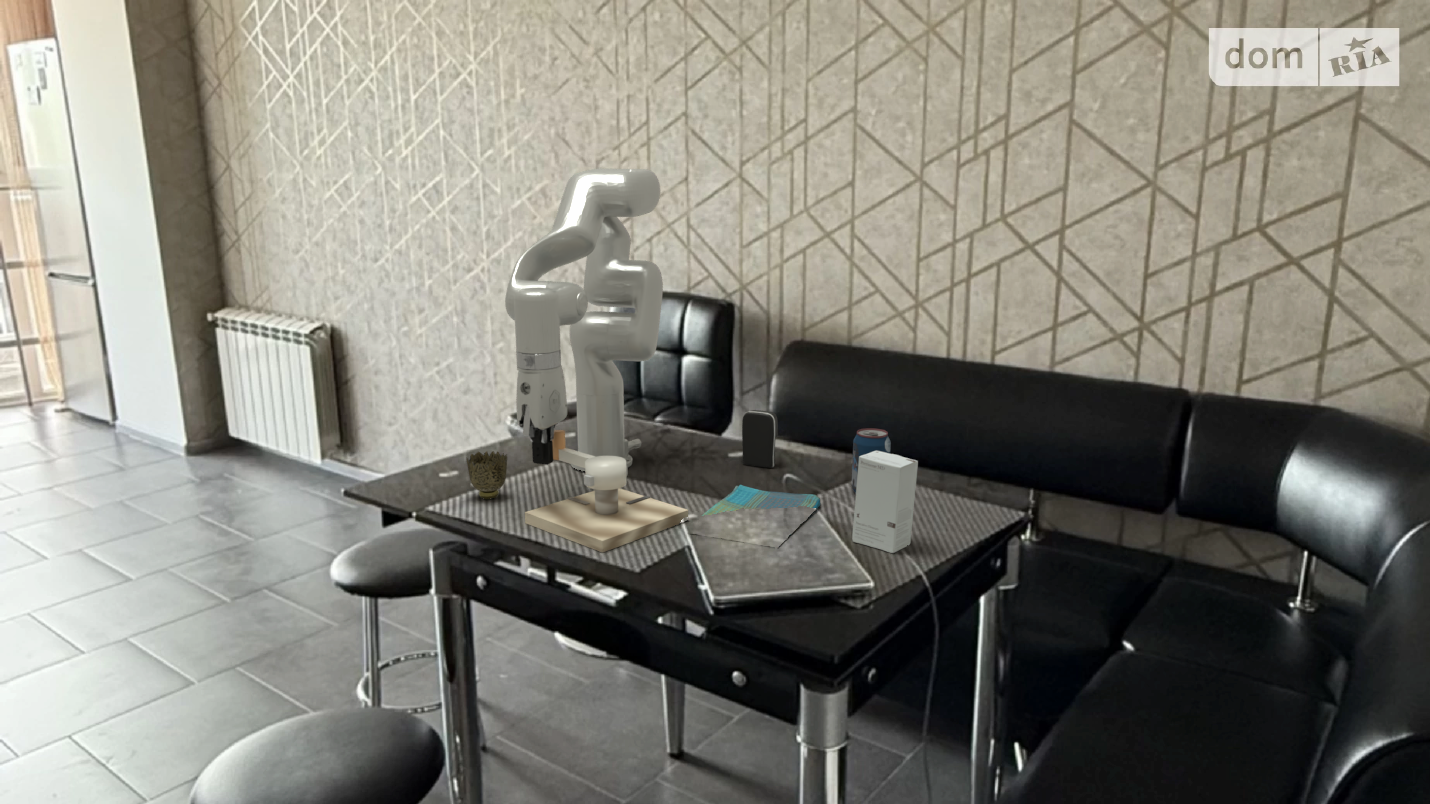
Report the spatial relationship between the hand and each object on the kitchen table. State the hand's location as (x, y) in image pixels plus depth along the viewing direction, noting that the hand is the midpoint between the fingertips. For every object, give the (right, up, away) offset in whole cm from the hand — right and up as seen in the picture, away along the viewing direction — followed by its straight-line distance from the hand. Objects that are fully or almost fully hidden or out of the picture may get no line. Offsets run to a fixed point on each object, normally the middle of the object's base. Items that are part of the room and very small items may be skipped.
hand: (543, 462), depth 183 cm
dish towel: (+38, -11, 0) cm, 39 cm away
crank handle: (+8, -3, 0) cm, 8 cm away
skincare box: (+58, -13, -11) cm, 60 cm away
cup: (-12, -7, +11) cm, 18 cm away
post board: (+11, -10, -2) cm, 15 cm away
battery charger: (+40, -2, +31) cm, 51 cm away
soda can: (+60, -7, +14) cm, 61 cm away
